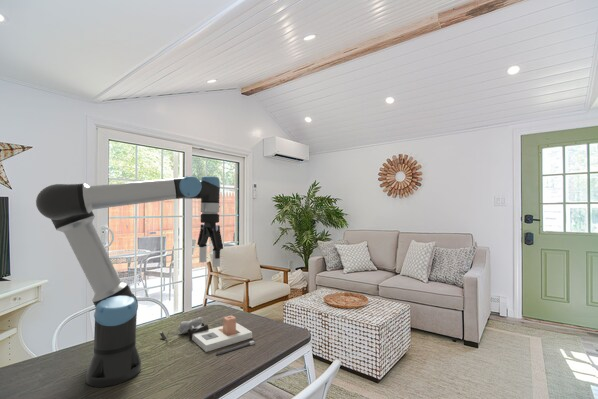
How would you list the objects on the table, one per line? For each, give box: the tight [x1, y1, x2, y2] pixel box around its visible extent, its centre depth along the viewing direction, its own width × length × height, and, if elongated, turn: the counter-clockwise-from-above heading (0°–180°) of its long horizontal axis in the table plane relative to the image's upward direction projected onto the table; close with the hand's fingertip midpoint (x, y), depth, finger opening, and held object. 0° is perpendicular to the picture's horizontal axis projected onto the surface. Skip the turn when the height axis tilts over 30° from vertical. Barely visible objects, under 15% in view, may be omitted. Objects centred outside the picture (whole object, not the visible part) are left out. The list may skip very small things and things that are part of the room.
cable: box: [215, 340, 256, 356], centre depth 115 cm, size 16×1×1 cm, turn 130°
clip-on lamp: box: [159, 316, 210, 341], centre depth 127 cm, size 12×6×18 cm
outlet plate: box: [191, 322, 253, 353], centre depth 124 cm, size 20×14×3 cm
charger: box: [222, 314, 237, 336], centre depth 127 cm, size 4×4×8 cm
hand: (209, 264), depth 125 cm, fingers open, 13 cm apart
